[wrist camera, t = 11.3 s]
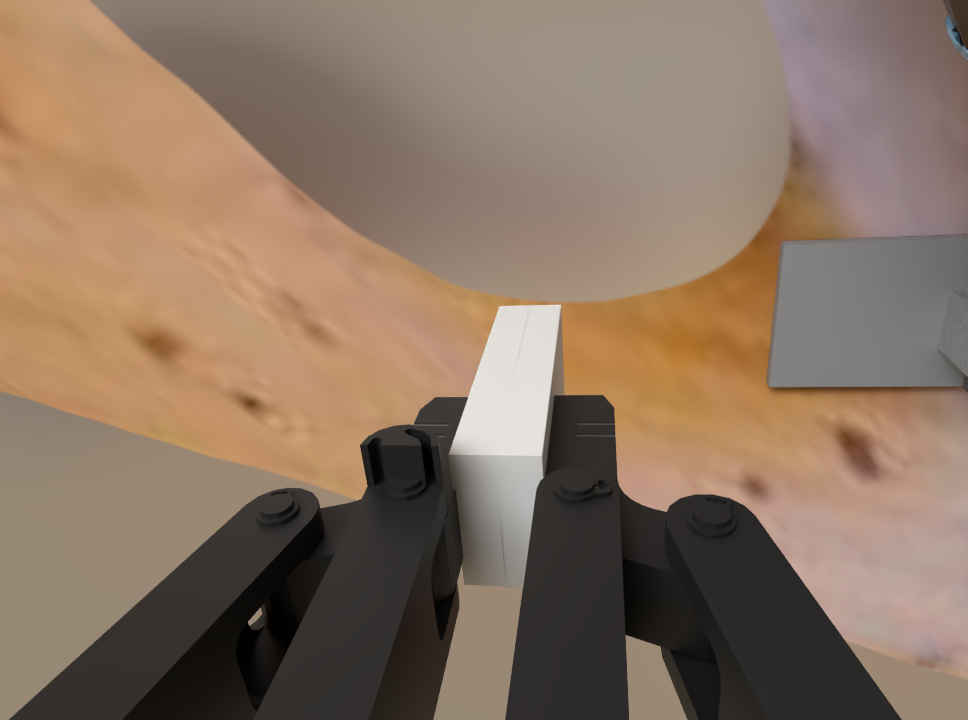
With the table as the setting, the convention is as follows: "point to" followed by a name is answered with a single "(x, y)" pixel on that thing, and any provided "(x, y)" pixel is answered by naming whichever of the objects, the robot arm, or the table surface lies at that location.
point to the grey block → (956, 329)
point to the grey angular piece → (865, 312)
